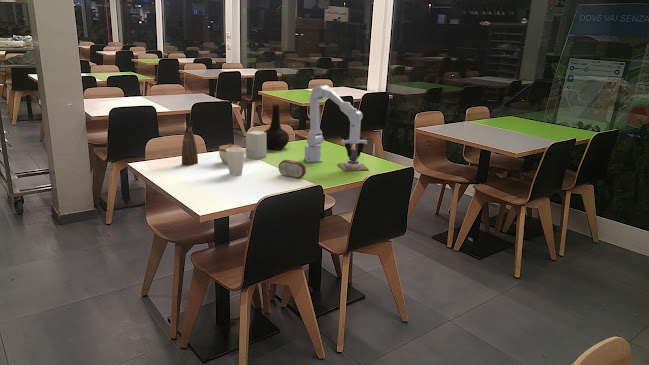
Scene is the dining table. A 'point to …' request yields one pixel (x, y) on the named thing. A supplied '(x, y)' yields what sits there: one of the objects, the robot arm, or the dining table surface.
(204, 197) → the dining table surface
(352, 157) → the dark grey cylinder peg
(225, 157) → the lidded bowl
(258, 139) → the supplement box
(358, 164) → the octagonal socket plate
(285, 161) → the tin
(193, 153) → the statue
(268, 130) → the dark vase
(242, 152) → the foam cup
